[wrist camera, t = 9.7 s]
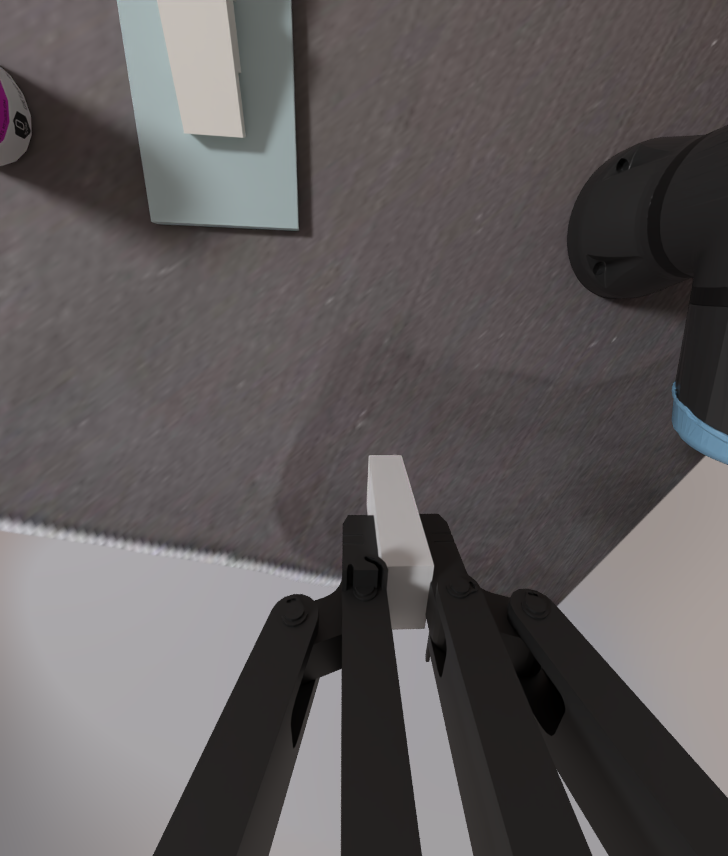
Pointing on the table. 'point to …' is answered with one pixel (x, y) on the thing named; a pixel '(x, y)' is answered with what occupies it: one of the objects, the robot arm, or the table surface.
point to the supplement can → (13, 120)
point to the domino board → (218, 155)
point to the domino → (203, 65)
